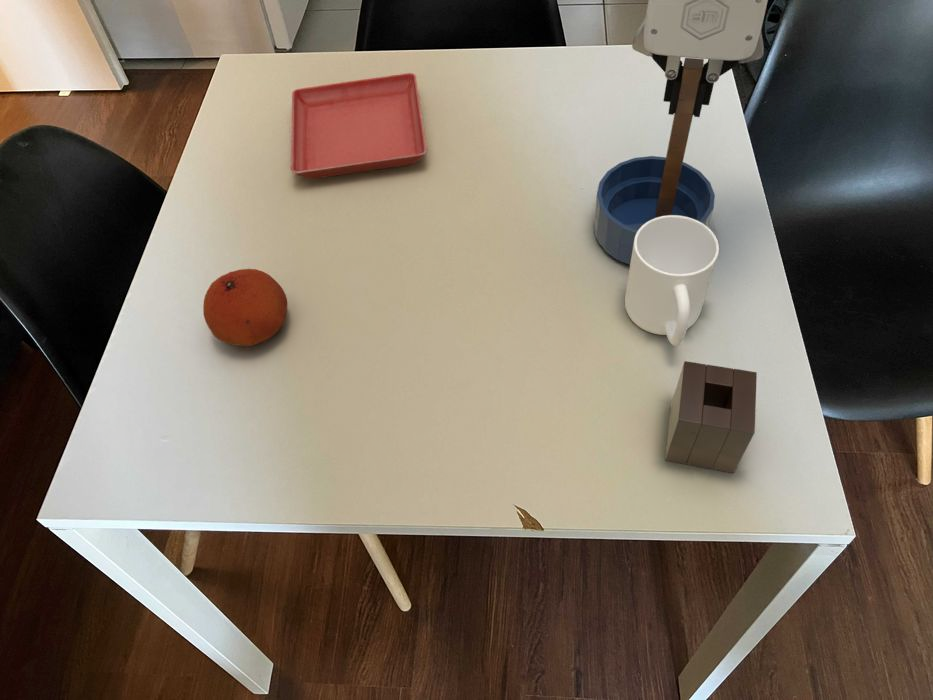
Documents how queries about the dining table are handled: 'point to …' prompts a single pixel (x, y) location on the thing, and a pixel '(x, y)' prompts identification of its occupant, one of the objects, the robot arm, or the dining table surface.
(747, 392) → the stand
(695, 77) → the stick
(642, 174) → the bowl
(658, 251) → the cup
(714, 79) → the robot arm
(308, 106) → the plant saucer
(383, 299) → the dining table surface
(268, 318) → the fruit
